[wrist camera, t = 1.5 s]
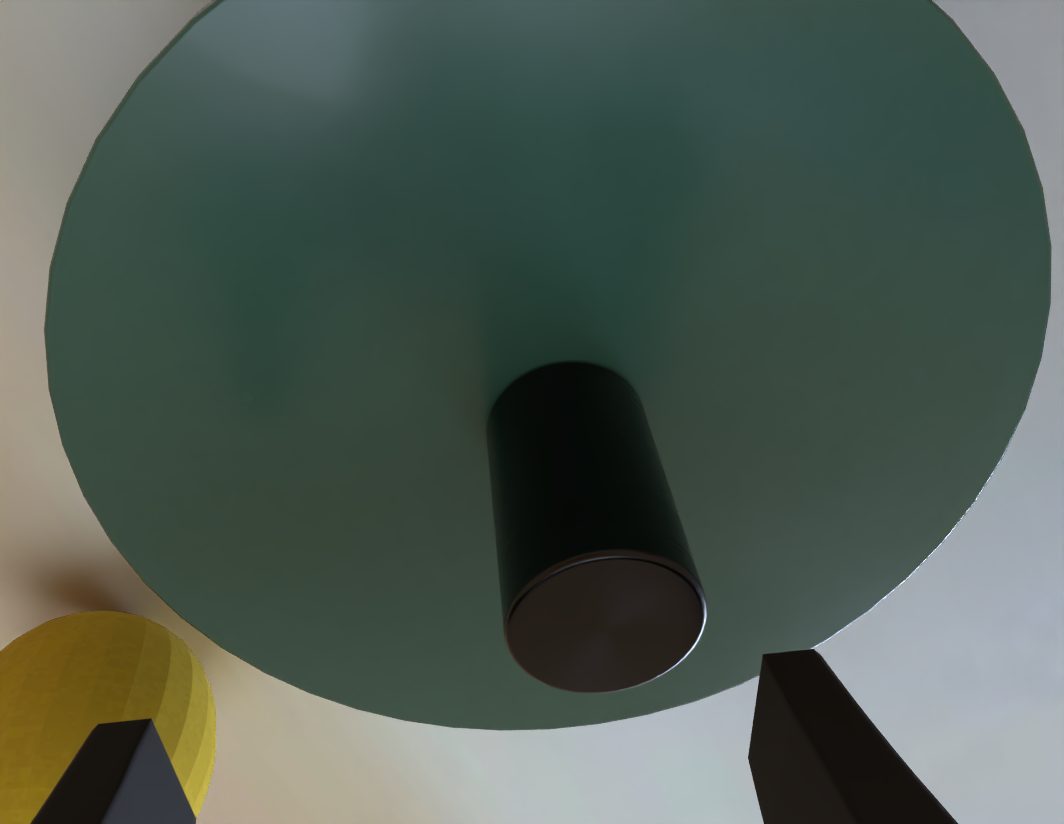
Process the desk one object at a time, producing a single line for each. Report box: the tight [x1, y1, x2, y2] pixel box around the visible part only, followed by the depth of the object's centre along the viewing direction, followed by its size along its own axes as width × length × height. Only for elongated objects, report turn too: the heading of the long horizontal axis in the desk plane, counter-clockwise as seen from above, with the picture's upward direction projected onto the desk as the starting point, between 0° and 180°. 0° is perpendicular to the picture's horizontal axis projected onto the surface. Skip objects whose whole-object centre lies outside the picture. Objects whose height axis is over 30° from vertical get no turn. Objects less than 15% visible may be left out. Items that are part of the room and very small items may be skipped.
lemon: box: [0, 610, 216, 824], centre depth 21 cm, size 6×6×8 cm
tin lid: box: [44, 0, 1051, 730], centre depth 13 cm, size 15×15×5 cm
